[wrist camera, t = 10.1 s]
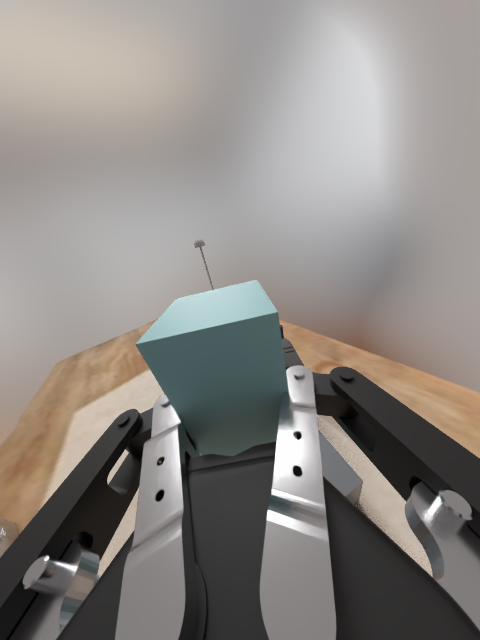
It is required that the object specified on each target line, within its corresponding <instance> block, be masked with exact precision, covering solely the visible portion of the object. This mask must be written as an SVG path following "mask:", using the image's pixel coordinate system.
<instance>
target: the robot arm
mask: <svg viewBox="0 0 480 640" xmlns="http://www.w3.org/2000/svg"><path fill="white" fill-rule="evenodd" d="M282 345H283V353H284V360H285V367H286V374H287V381H288V388H289V391H287V392H284V397H283V404H281V406H280V415H279V425H278V434H277V441H276V442H271V443H265V444H260V445H255V446H253V447H251V448H249V449H247V450H245V451H243V452H241V453H239V454H237V455H235V456H224V455H217V454H207V455H201V456H200V452H199V447H198V443H197V441H196V440H195V439H192V438H191V437H190V435H189V433H188V432H187V430H186V428H185V425H184V419H183V417H182V415H181V414H180V413H178V414H177V413H176V412H175V410H174V408H173V407H172V405H171V403H170V402H169V400H168V398H167V396H166V395H165V394H164V395H162V396H161V397H160V398H158V400H157V401H156V402H155V404H154V407H153V408H151V409H149V410H147V411H145V412H143V413H141V414H140V413H139V412H138V411H137V410H136V409H131V410H128V411H126V412H124V413H122V414H121V415H120V416H118V417H117V418H116V419H115V420H114V422H113V423H112V424H111V425H110V426H109V428H108V429H107V430H106V431H105V432H104V434H103V435H102V436H101V437H100V438H99V440H98V441H97V442H96V443H95V444H94V446H93V447H92V448H91V449H90V450H89V452H88V453H87V454H86V455H85V456H84V458H83V459H82V460H81V461H80V462H79V464H78V465H77V466H76V467H75V468H74V470H73V471H72V472H71V473H70V474H69V476H68V477H67V478H66V479H65V480H64V482H63V483H62V484H61V485H60V486H59V488H58V489H57V490H56V491H55V492H54V494H53V495H52V496H51V497H50V498H49V500H48V501H47V502H46V503H45V504H44V506H43V507H42V508H41V509H40V510H39V512H38V513H37V514H36V515H35V516H34V518H33V519H32V520H31V521H30V522H29V524H28V525H27V526H26V527H25V529H24V530H23V531H22V532H21V533H20V535H19V536H18V527H17V525H16V524H15V523H13V522H11V521H8V520H6V519H4V518H2V517H0V640H480V458H478V457H477V456H475V455H474V454H473V453H471V452H470V451H468V450H467V449H466V448H464V447H463V446H461V445H460V444H459V443H457V442H456V441H454V440H453V439H452V438H450V437H449V436H447V435H446V434H444V433H443V432H442V431H440V430H439V429H437V428H436V427H435V426H433V425H432V424H430V423H429V422H428V421H426V420H425V419H423V418H422V417H421V416H419V415H418V414H416V413H415V412H414V411H412V410H411V409H409V408H408V407H407V406H405V405H404V404H402V403H401V402H400V401H398V400H397V399H395V398H394V397H393V396H391V395H390V394H388V393H387V392H386V391H384V390H383V389H381V388H380V387H379V386H377V385H376V384H374V383H373V382H371V381H370V380H369V379H367V378H366V377H364V376H363V375H362V374H360V373H359V372H357V371H356V370H354V369H352V368H348V367H337V368H334V369H333V370H332V371H331V372H330V374H318V373H314V372H312V371H311V370H310V369H309V368H307V367H305V366H304V365H303V363H302V361H301V360H300V358H299V356H298V354H297V353H296V351H295V349H294V348H293V346H292V344H291V342H290V341H288V340H287V339H285V338H284V339H282ZM317 415H325V416H332V417H333V418H334V419H335V420H336V422H337V423H338V424H339V425H340V426H341V427H342V429H343V430H344V431H345V432H346V433H347V434H348V435H349V437H350V438H351V439H352V440H353V441H354V442H355V443H356V445H357V446H358V447H359V448H360V449H361V450H362V451H363V453H364V454H365V455H366V456H367V457H368V458H369V459H370V461H371V462H372V463H373V464H374V465H375V466H376V468H377V469H378V470H379V471H380V472H381V473H382V474H383V476H384V477H385V478H386V479H387V480H388V481H389V482H390V484H391V485H392V486H393V487H394V488H395V489H396V490H397V492H398V493H399V494H400V495H401V496H402V497H403V498H404V500H405V501H406V504H405V515H406V518H407V521H408V523H409V526H410V527H411V529H412V531H413V533H414V534H415V536H416V537H417V538H418V540H419V541H420V543H421V544H422V546H423V548H424V550H425V551H426V554H427V556H428V558H429V561H430V564H431V568H432V572H433V578H432V577H431V576H430V575H429V574H428V573H427V572H426V571H425V570H424V569H423V568H422V567H421V566H420V565H418V564H417V563H416V562H415V561H414V560H413V559H412V558H411V557H410V556H409V555H408V554H407V553H406V552H404V551H403V550H402V549H401V548H400V547H399V546H398V545H397V544H396V543H395V542H394V541H393V540H392V539H390V538H389V537H388V536H387V535H386V534H385V533H384V532H383V531H382V530H381V529H380V528H379V527H378V526H377V525H375V524H374V523H373V522H372V521H371V520H370V519H369V518H368V517H367V516H366V515H365V514H364V513H363V512H361V511H360V510H359V509H358V508H357V507H356V506H355V505H354V504H353V503H352V502H351V501H350V500H349V499H347V498H346V497H345V496H344V495H343V494H342V493H341V492H340V491H339V490H338V489H337V488H336V487H335V486H333V485H332V484H331V483H330V482H329V481H328V480H327V479H326V478H325V477H324V476H323V475H322V465H321V455H320V444H319V433H318V422H317ZM125 449H126V450H127V451H128V452H129V454H128V455H127V457H126V458H125V460H124V461H123V463H122V464H121V466H120V468H119V469H118V471H117V472H116V474H115V475H114V477H113V478H112V480H111V481H110V483H109V485H108V484H107V478H108V475H109V473H110V471H111V469H112V468H113V466H114V465H115V463H116V462H117V460H118V459H119V458H120V456H121V455H122V453H123V452H124V450H125ZM138 488H139V494H138V503H137V512H136V521H135V530H134V531H133V533H132V534H131V535H130V537H129V538H128V540H127V541H126V542H125V544H124V545H123V547H122V548H121V549H120V551H119V552H118V554H117V555H116V556H115V558H114V559H113V561H112V562H111V563H110V565H109V566H108V568H107V569H106V570H105V572H104V573H103V575H102V576H101V577H100V579H99V575H97V573H98V569H99V562H100V560H101V558H102V556H103V554H104V552H105V551H106V549H107V547H108V545H109V543H110V541H111V539H112V537H113V535H114V533H115V531H116V530H117V528H118V526H119V524H120V522H121V520H122V518H123V516H124V514H125V512H126V511H127V509H128V507H129V505H130V503H131V501H132V499H133V497H134V495H135V493H136V491H137V490H138Z"/></svg>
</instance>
